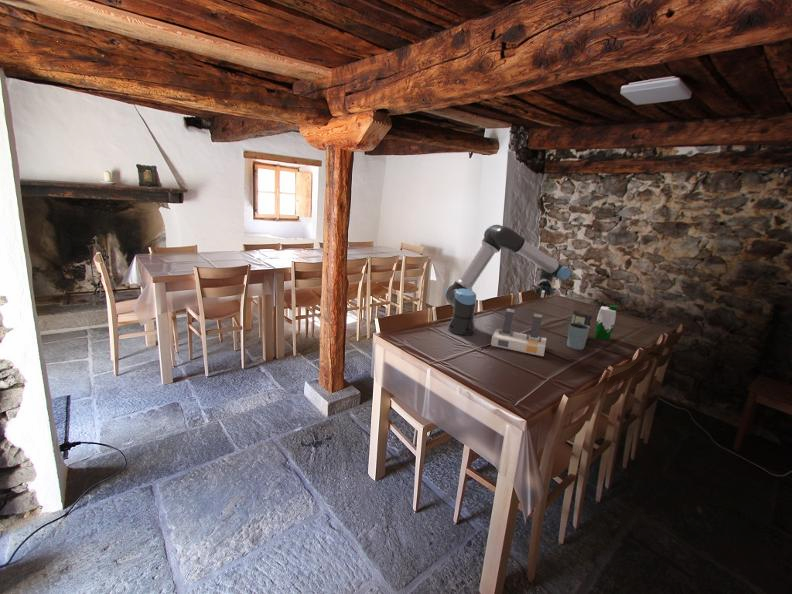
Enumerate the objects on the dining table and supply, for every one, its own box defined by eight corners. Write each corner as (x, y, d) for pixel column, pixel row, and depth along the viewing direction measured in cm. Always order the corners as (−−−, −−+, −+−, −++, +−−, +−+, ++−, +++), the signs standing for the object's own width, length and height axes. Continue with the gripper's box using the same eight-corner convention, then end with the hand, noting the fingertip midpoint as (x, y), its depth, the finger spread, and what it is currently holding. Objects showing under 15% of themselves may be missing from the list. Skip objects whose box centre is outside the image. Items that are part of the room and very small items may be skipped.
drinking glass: (575, 351, 201) (580, 329, 198) (560, 343, 210) (564, 323, 207) (589, 349, 205) (594, 328, 202) (574, 342, 214) (578, 321, 211)
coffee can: (584, 334, 229) (589, 311, 225) (589, 340, 219) (594, 316, 215) (566, 331, 231) (571, 309, 227) (570, 337, 221) (575, 314, 217)
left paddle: (502, 330, 203) (506, 307, 205) (502, 331, 205) (507, 308, 207) (510, 332, 202) (514, 309, 204) (510, 333, 204) (514, 310, 206)
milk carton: (610, 341, 219) (617, 308, 214) (592, 338, 223) (599, 305, 218) (610, 337, 226) (618, 305, 221) (593, 334, 230) (600, 302, 225)
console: (490, 345, 200) (492, 332, 198) (495, 337, 213) (497, 324, 211) (543, 356, 191) (545, 342, 189) (544, 347, 203) (547, 334, 201)
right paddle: (530, 336, 198) (534, 312, 201) (529, 337, 200) (534, 314, 203) (538, 337, 197) (542, 314, 199) (538, 338, 199) (542, 315, 201)
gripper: (555, 294, 225) (554, 303, 204) (532, 291, 230) (528, 299, 208) (557, 282, 223) (556, 290, 202) (534, 278, 228) (530, 286, 207)
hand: (542, 295), depth 205 cm, fingers closed
